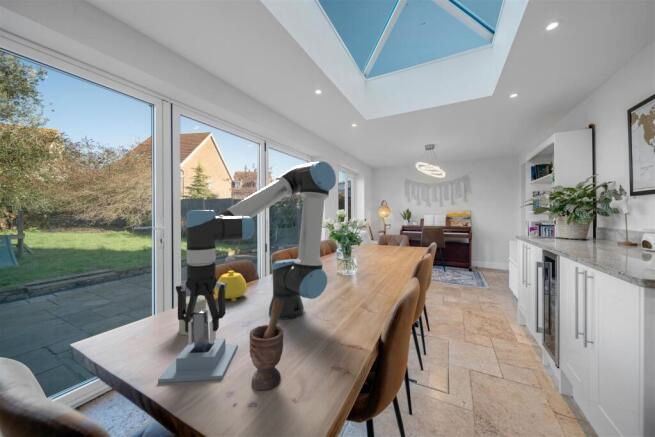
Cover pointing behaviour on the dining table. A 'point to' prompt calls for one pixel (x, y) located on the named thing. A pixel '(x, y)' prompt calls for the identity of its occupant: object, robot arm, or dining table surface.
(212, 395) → the dining table surface
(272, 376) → the mortar and pestle
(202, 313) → the peg
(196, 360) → the socket block
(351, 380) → the dining table surface
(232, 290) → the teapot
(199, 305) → the can
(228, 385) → the dining table surface
